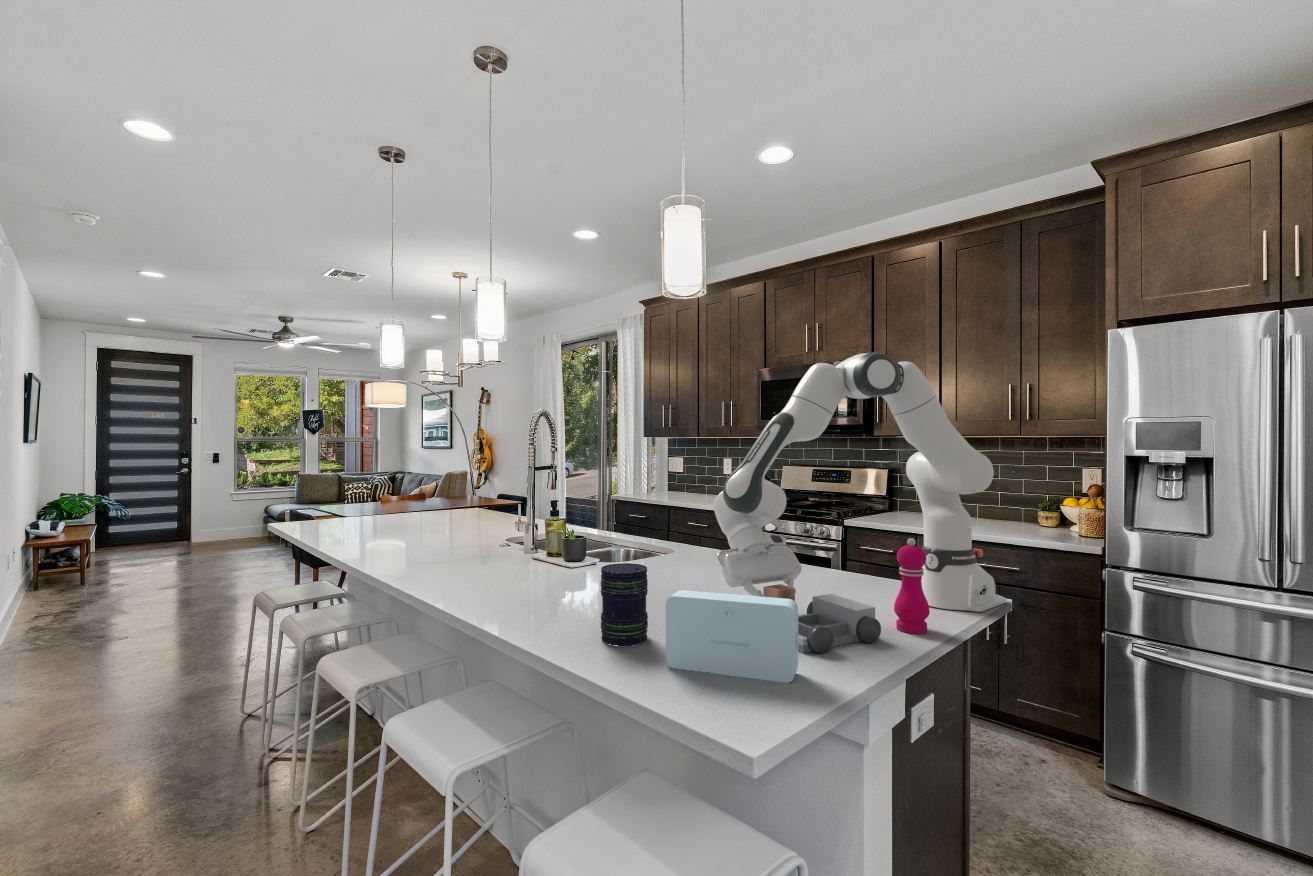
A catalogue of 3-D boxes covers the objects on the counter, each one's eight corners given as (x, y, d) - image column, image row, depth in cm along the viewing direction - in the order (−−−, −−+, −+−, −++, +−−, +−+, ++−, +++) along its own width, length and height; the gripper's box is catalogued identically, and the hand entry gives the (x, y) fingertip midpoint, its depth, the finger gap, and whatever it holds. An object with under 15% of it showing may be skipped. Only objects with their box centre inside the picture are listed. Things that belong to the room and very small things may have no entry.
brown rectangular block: (780, 618, 148) (780, 584, 148) (795, 624, 143) (794, 588, 143) (763, 621, 146) (763, 586, 146) (777, 627, 141) (777, 591, 141)
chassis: (826, 619, 147) (826, 591, 147) (884, 640, 132) (884, 609, 131) (756, 632, 137) (756, 602, 137) (810, 656, 122) (809, 622, 122)
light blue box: (664, 669, 116) (664, 596, 116) (674, 659, 121) (674, 589, 121) (793, 686, 108) (793, 607, 108) (798, 674, 114) (798, 599, 114)
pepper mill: (888, 630, 139) (888, 538, 139) (901, 622, 144) (901, 534, 144) (922, 637, 134) (922, 542, 134) (934, 629, 139) (934, 538, 139)
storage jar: (592, 643, 130) (592, 570, 130) (612, 630, 139) (611, 562, 139) (637, 649, 127) (637, 574, 127) (654, 634, 136) (654, 565, 136)
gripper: (719, 543, 147) (744, 594, 139) (789, 536, 157) (816, 584, 148) (709, 559, 151) (733, 610, 143) (777, 551, 161) (803, 599, 152)
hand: (776, 596), depth 145 cm, fingers open, 8 cm apart
